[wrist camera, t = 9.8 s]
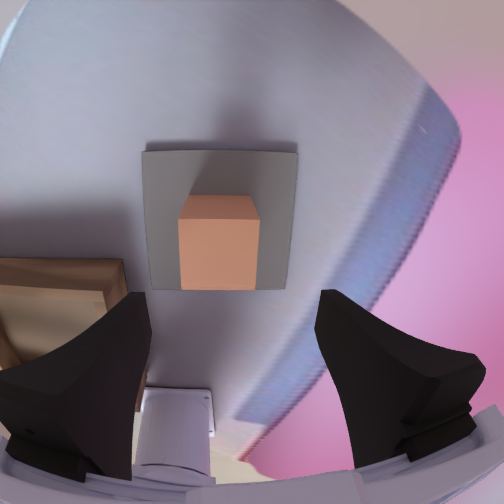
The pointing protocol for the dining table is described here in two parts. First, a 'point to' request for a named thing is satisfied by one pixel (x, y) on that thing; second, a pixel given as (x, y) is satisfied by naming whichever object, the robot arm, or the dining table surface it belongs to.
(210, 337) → the dining table surface
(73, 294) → the walnut box
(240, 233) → the terracotta block
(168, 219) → the slate mat
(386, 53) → the dining table surface
